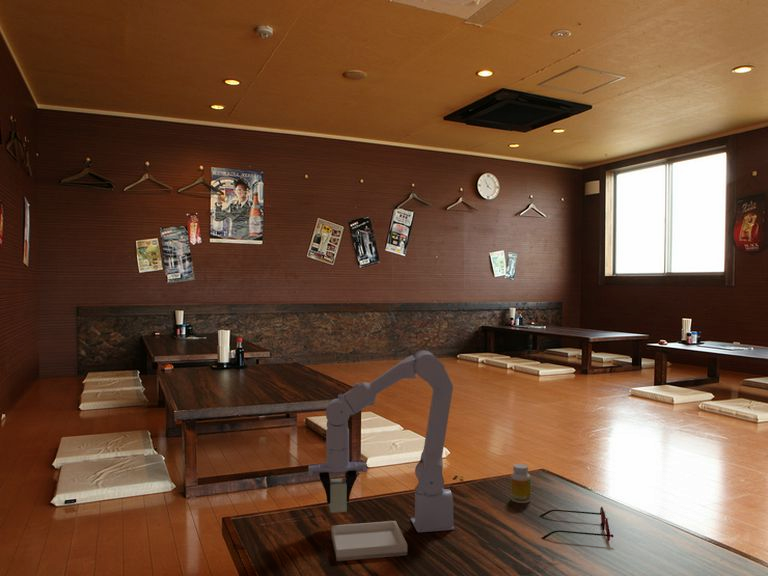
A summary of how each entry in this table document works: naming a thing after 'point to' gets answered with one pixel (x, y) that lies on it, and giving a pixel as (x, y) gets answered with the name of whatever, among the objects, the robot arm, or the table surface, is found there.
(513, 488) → the supplement bottle
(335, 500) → the sage block
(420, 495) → the robot arm
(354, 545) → the serving tray
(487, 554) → the table surface
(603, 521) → the glasses
